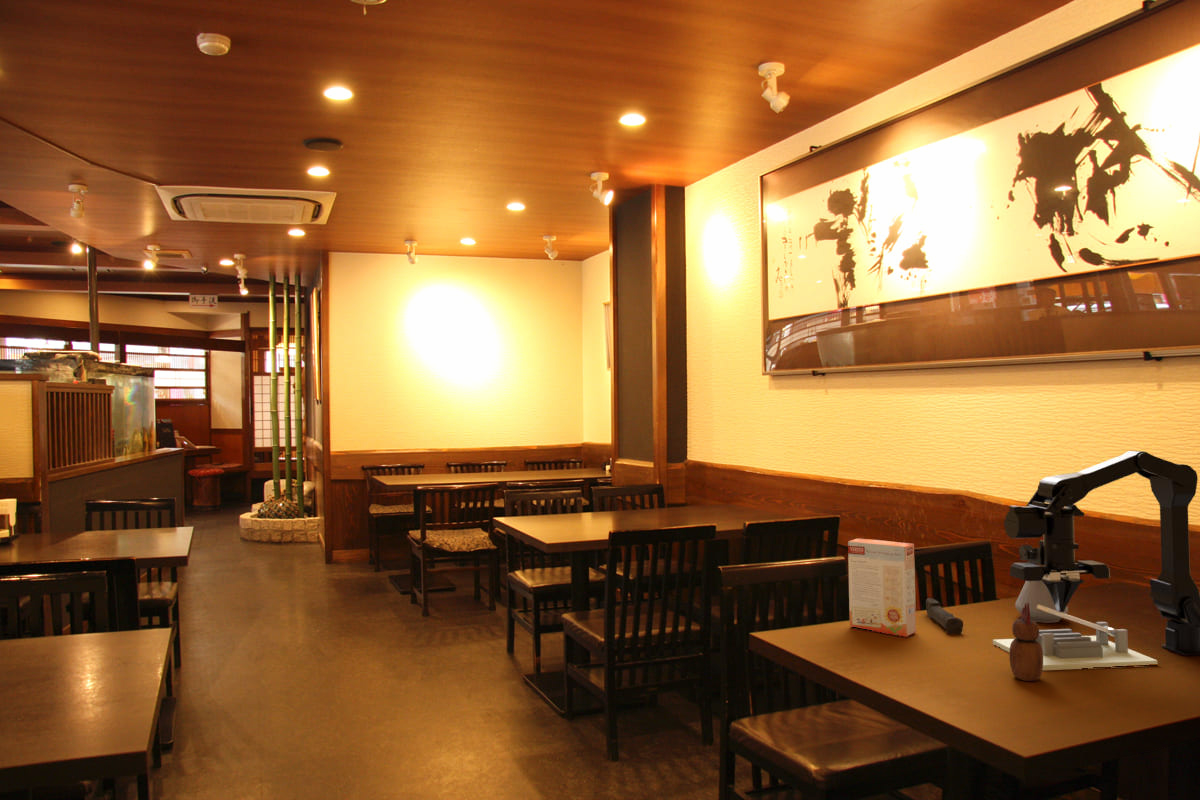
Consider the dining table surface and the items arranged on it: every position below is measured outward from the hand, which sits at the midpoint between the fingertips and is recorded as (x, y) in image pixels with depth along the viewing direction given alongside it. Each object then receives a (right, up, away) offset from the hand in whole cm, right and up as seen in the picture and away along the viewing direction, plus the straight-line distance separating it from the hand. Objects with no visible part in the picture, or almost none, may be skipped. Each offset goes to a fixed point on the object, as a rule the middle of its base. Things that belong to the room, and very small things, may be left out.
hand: (1060, 611), depth 172 cm
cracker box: (-30, -10, +21) cm, 38 cm away
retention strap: (+4, -3, 0) cm, 5 cm away
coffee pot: (+9, -9, +25) cm, 28 cm away
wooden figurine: (-15, -9, -14) cm, 22 cm away
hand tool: (-15, -10, +26) cm, 31 cm away
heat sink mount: (+2, -9, 0) cm, 9 cm away
